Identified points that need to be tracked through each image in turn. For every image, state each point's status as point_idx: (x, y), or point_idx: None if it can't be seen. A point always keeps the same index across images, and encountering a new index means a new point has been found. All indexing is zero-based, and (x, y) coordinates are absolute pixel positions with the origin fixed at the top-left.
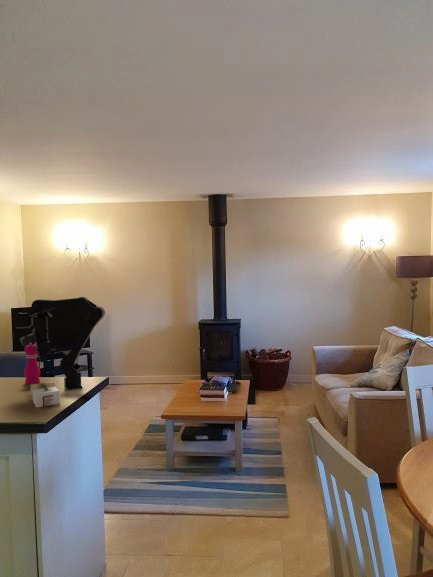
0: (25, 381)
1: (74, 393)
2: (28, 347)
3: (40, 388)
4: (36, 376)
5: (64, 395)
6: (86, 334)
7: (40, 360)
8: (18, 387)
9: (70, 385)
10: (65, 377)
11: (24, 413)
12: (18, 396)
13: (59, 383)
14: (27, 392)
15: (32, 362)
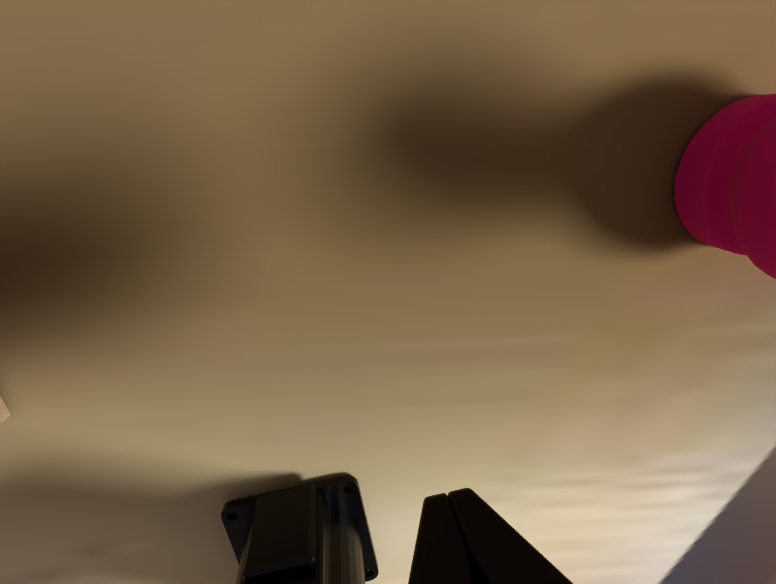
0: (762, 97)
1: (87, 552)
2: None
3: None
4: (737, 237)
5: (34, 486)
6: None
7: (419, 539)
8: (609, 19)
9: (244, 550)
10: (302, 575)
11: None
12: (135, 37)
13: (538, 424)
14: (300, 139)
15: None
